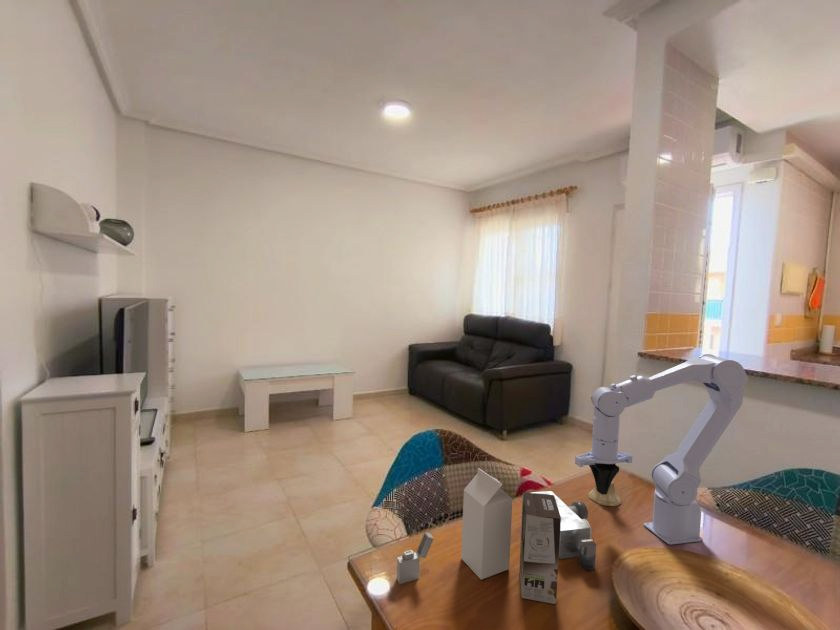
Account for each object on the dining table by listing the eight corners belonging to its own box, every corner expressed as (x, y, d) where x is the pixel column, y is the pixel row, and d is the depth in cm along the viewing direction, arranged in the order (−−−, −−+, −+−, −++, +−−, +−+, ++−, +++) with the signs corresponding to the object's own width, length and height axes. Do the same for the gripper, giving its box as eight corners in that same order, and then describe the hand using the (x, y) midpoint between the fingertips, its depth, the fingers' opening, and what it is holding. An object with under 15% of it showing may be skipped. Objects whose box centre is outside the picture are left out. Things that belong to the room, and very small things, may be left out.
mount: (550, 514, 102) (551, 490, 101) (588, 555, 86) (590, 527, 86) (524, 516, 100) (525, 492, 100) (559, 558, 85) (561, 530, 84)
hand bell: (581, 492, 114) (584, 438, 113) (606, 490, 116) (609, 436, 115) (601, 508, 106) (605, 449, 105) (628, 505, 108) (631, 447, 107)
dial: (589, 560, 84) (590, 535, 84) (598, 570, 82) (599, 544, 81) (576, 562, 84) (577, 536, 83) (584, 572, 81) (586, 545, 81)
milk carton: (481, 581, 77) (484, 486, 76) (460, 558, 84) (464, 471, 83) (509, 570, 81) (513, 479, 80) (488, 549, 87) (491, 465, 86)
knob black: (577, 514, 101) (578, 498, 100) (587, 523, 97) (588, 507, 96) (550, 516, 99) (551, 501, 99) (559, 525, 95) (560, 509, 95)
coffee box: (557, 605, 72) (562, 519, 71) (520, 598, 73) (524, 514, 72) (551, 571, 81) (555, 494, 80) (518, 565, 82) (522, 490, 81)
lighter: (399, 584, 76) (400, 544, 75) (396, 578, 77) (397, 538, 77) (432, 574, 79) (434, 535, 78) (428, 568, 80) (430, 530, 80)
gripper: (619, 430, 102) (615, 482, 102) (568, 433, 98) (565, 486, 99) (640, 440, 95) (636, 496, 96) (586, 444, 91) (583, 501, 92)
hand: (601, 492), depth 97 cm, fingers closed
